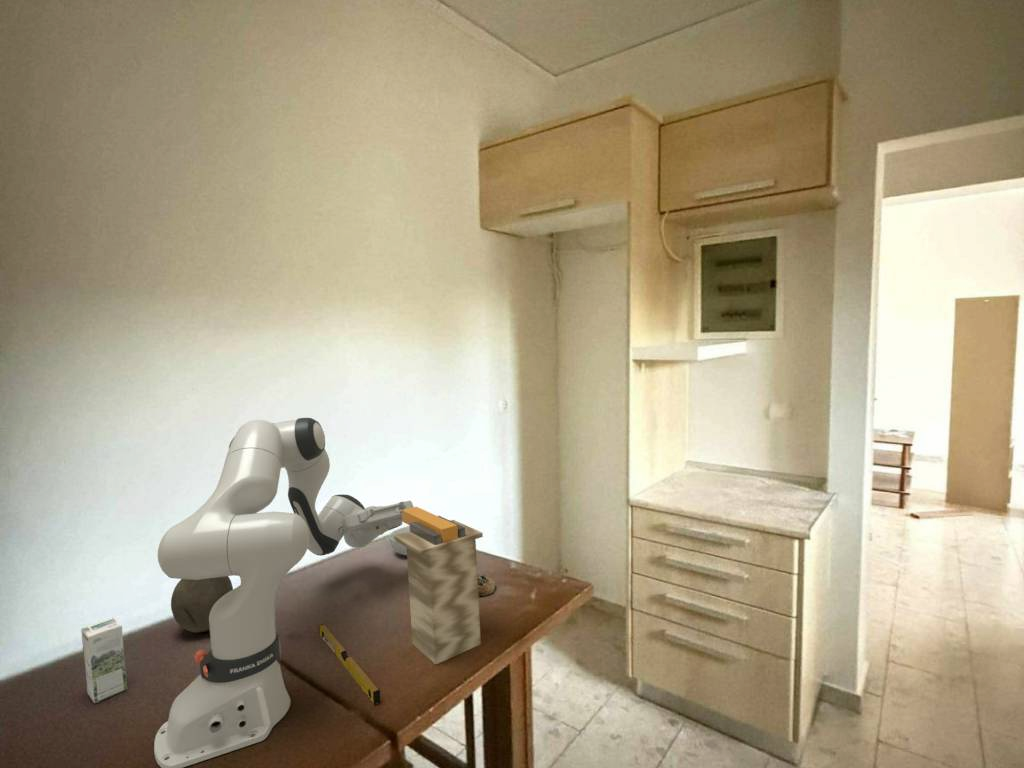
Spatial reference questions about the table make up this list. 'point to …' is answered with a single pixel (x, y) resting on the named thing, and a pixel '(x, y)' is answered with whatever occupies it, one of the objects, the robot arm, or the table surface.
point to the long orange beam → (431, 522)
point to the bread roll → (485, 585)
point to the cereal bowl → (396, 545)
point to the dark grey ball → (197, 601)
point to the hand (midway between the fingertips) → (387, 508)
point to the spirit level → (351, 666)
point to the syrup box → (104, 659)
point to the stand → (442, 590)
